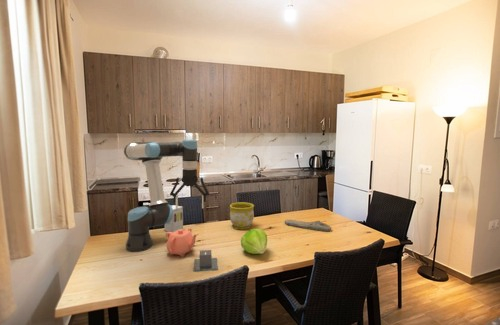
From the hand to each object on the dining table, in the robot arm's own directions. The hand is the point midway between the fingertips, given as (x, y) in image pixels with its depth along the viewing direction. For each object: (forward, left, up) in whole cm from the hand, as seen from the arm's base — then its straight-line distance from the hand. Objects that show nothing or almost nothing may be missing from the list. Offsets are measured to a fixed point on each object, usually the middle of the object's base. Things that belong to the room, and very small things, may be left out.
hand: (189, 208), depth 144 cm
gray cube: (+8, +8, -28) cm, 30 cm away
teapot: (-10, -5, -29) cm, 31 cm away
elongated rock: (-41, +82, -29) cm, 96 cm away
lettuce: (-3, +36, -29) cm, 46 cm away
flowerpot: (-49, +34, -29) cm, 66 cm away
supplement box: (-49, -15, -29) cm, 58 cm away
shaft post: (+8, +8, -28) cm, 31 cm away
